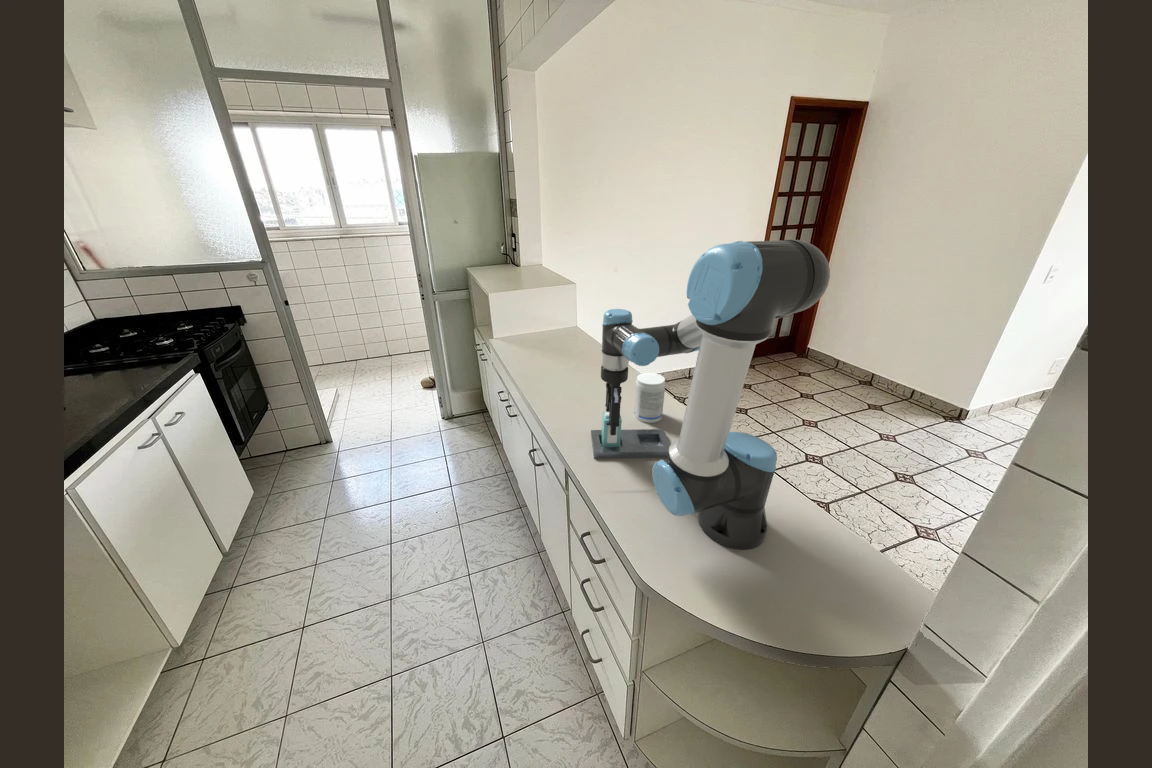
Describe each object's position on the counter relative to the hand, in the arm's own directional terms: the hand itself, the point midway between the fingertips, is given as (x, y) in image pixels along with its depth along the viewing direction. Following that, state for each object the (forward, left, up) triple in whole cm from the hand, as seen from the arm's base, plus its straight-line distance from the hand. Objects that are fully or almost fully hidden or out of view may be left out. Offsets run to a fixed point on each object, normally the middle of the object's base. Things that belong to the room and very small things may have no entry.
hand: (610, 436), depth 123 cm
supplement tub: (+18, -15, -4) cm, 24 cm away
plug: (0, 0, -3) cm, 3 cm away
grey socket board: (0, -6, -4) cm, 7 cm away
